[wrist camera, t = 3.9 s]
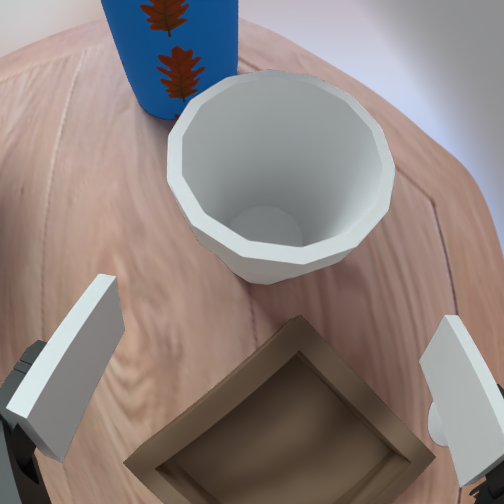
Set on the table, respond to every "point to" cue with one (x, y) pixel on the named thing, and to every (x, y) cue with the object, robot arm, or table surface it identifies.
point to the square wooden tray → (284, 435)
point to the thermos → (174, 48)
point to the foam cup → (279, 173)
